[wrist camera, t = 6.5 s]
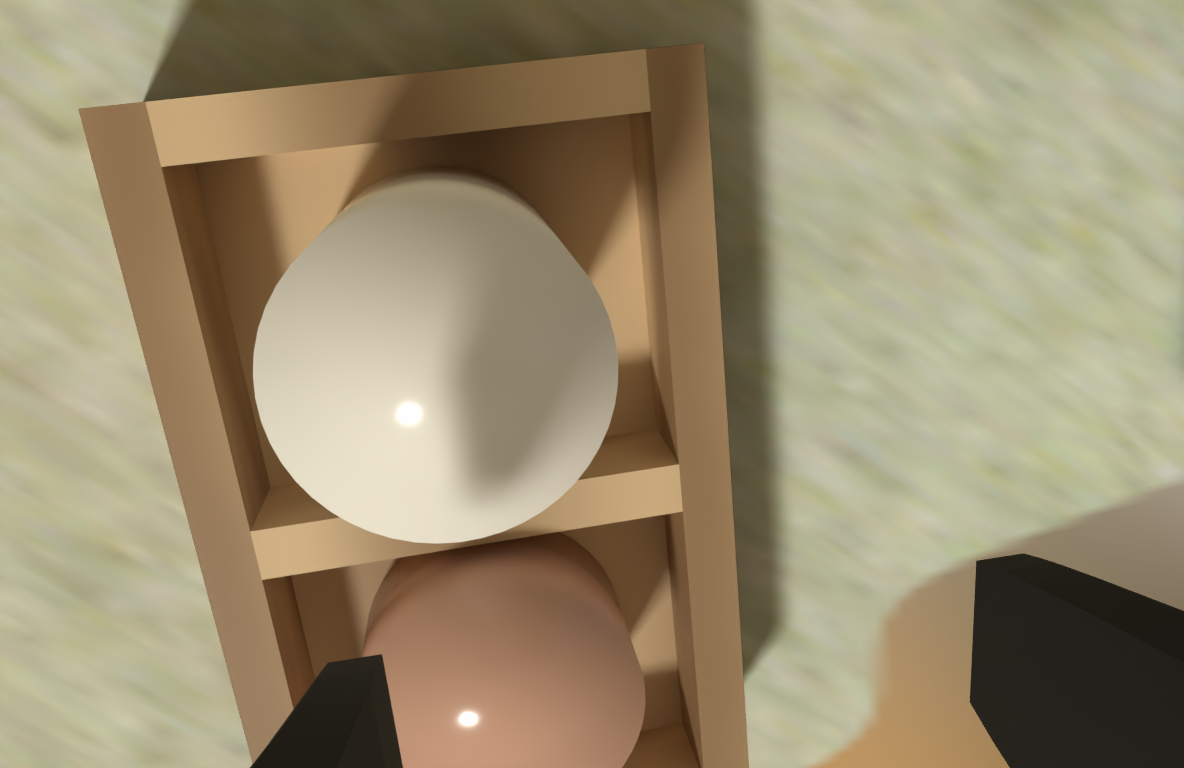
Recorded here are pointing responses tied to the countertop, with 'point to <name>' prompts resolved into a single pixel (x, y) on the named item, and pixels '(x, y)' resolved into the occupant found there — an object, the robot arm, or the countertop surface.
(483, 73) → the tray
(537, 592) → the pinkish tan dome
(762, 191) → the countertop surface
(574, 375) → the cream cylinder
